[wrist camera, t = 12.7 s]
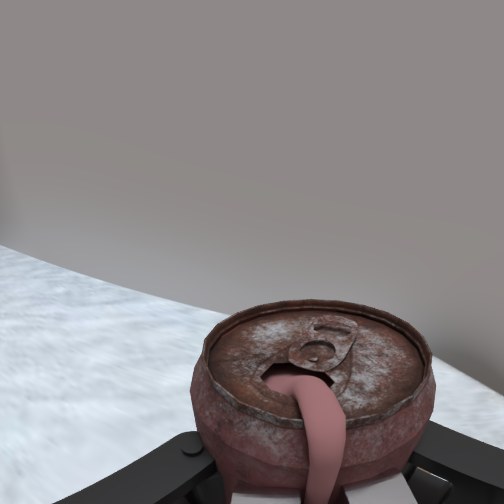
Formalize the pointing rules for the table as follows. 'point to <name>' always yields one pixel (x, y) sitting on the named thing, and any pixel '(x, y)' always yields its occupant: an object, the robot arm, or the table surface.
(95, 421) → the table surface
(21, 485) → the table surface
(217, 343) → the can
